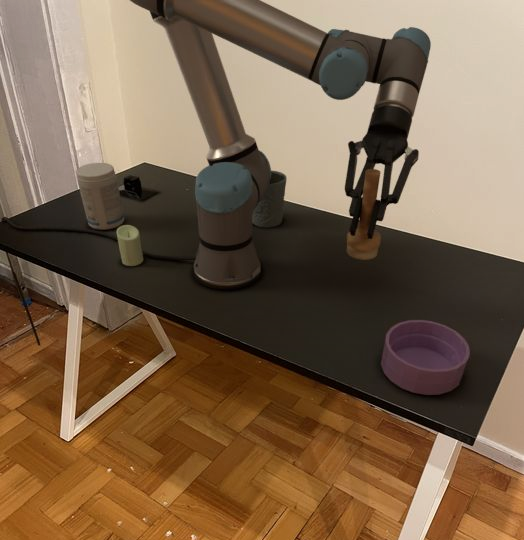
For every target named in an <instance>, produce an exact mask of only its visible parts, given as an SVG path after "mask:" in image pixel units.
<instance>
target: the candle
mask: <svg viewBox="0 0 524 540" xmlns="http://www.w3.org/2000/svg"><path fill="white" fill-rule="evenodd" d="M116 237H117V238H118V241H117V243H118V248H119V253H120V259H121V263H122V265H124V266H126V267H135V266H138V265H140V264H142V263H143V262H144V255H143V254H142V251H143V249H142V243H141V236H140V231H139V230H138V228H137V227H136V226H133V225H131V224H122V225H120V226H118V227H117V228H116Z"/></svg>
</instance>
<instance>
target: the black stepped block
mask: <svg viewBox="0 0 524 540" xmlns="http://www.w3.org/2000/svg"><path fill="white" fill-rule="evenodd" d="M140 179H141V178H140V176H135V175H131V174H129V175H127V176H125V177H123V181H122V183H123V184H122V185H120V186H118V189H119V194H120V197H125V198H129V199H132V200H136V201H139V202H144V201H145V200H148V199H149V198H151V197H153V196H155V195H157V194H158V191H155V190H152V189H148V188H144V187H142V181H141V180H140Z"/></svg>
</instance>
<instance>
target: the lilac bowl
mask: <svg viewBox="0 0 524 540" xmlns="http://www.w3.org/2000/svg"><path fill="white" fill-rule="evenodd" d="M470 356H471V352H470V346H469V343H468V342H467V340H466V338H464V337H463V336H462V335H461V334H460V333H459V332H458V331H456V330H454V329H453V328H451V327H449V326H448V325H445V324H442V323H439V322H435V321H432V320H425V319H410V320H405V321H401V322H398V323H396V324H395V325H393V326H392V327H390V328H389V329H388V331H387V333H386V334H385V338H384V343H383V348H382V353H381V360H380V366H381V369H382V371H383V374H384V375H385V376H386V377H387V378H388V380H389V381H390V382H391V383H393V384H395V385H396V386H397V387H399V388H401V389H403V390H405V391H408V392H410V393H414V394H418V395H425V396H432V395H433V396H437V395H442V394H446V393H449V392H452V391H453V390H454V389H456V388H457V387H458V386H460V383H461V381H462V379H463V378H464V377H463V376H464V373H465V370H466V367H467V365H468V362H469V359H470Z"/></svg>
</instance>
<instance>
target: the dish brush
mask: <svg viewBox="0 0 524 540" xmlns="http://www.w3.org/2000/svg"><path fill="white" fill-rule="evenodd" d="M380 178H381V170H379V169H377V168H374V169H368V170H366V172H365V180H364V188H363V194H362V204H361V212H360V218H359V222H358V226H357V229H356V233H355V236H352V235H351V234H350V231H348V233H347V234H346V235H347V236H346V244H347V245H346V253H347V255H348V256H350V258H353V259H356V260H363V261H364V260H365V261H366V260H367V261H368V260H372V259H374V258H376V257H377V256H378V253H379V247H380V246H381V241H382V235H381V234H380V233H379V232H378V231H376V230H374V234H373V238H372V239H368V235H367V232H368V228H369V224H370V221H371V217H372V213H373V209H374V206H375V202H376V200H378V192H379V185H380V180H381V179H380Z"/></svg>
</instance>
